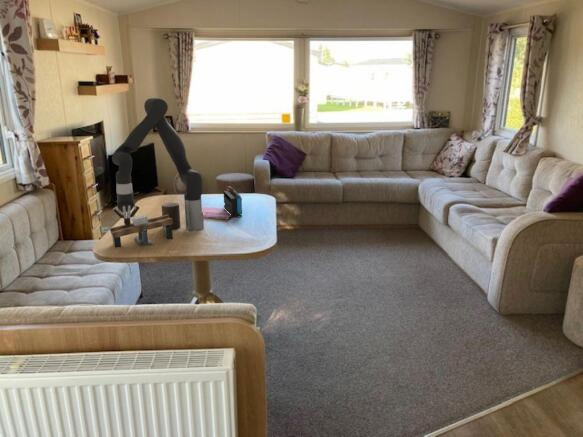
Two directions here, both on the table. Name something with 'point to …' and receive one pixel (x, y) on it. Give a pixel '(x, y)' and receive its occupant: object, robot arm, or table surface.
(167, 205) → the pillar candle
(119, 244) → the pivot stand
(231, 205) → the game console
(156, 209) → the table surface
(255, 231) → the table surface
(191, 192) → the robot arm
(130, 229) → the walnut beam
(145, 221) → the steel weight
